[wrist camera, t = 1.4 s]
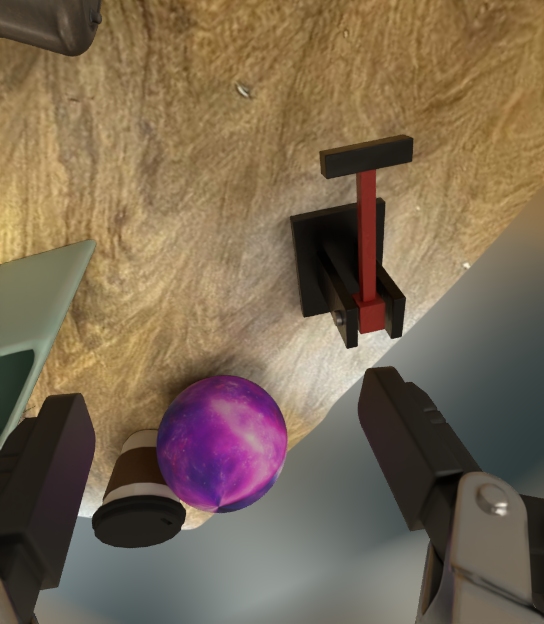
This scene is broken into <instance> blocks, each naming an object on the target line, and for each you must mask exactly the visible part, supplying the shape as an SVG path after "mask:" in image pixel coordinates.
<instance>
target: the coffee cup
mask: <svg viewBox="0 0 544 624" xmlns="http://www.w3.org/2000/svg"><path fill="white" fill-rule="evenodd" d="M157 435H158V431H157V430H142V431H138V432H136V433H134V434H132V435H131V436H130V437H129V438H128V439H127V441H126V442H125V443H124V445H123V448H122V450H121V453H120V456H119V458H118V459H117V460H116V463H115V466H114V469H113V472H112V474H111V477H110V480H109V483H108V486H107V488H106V491H105V494H104V497H103V504H102V506H100V507H99V508H98V510H97V511H96V512H95V513H94V514H93V517H92V528H93V529H94V531H95V536H96V537H97V538H98V539H99V540H100V541H101V542H103V543H105V544H108V545H111V546H114V547H123V548H137V547H138V548H139V547H148V546H152V545H156V544H160V543H163V542H165V541H167V540H169V539H171V538H173V537H174V536H175V535H176V534H177V533H178V532H179V531H180V530H181V526H182V525H183V524H184V522H185V517H186V510H185V508H184V507H183V505H182V504H181V503H180V498H178V497H177V496H176V495H175V494H174V493H173V492H172V490H171V489H170V488H169V486H168V485H167V483H166V482H165V480H164V478H163V476H162V473H161V471H160V468H159V464H158V459H157V450H156V445H157Z"/></svg>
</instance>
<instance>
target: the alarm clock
mask: <svg viewBox="0 0 544 624" xmlns="http://www.w3.org/2000/svg"><path fill="white" fill-rule="evenodd" d="M100 8H101V0H0V38H6V39H10V40H14V41H18V42H21V43H25V44H28V45H32V46H35V47H39V48H42V49H45V50H49V51H52V52H56V53H59V54H63V55H67V56H78V55H81V54H82V53H84V52H85V51H87V49H88V48H89V47H90V46H91V44H92V42H93V40H94V37H95V34H96V31H97V27H98V24H100V23H101V22H102V16H101V14H100Z"/></svg>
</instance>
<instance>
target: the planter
mask: <svg viewBox="0 0 544 624" xmlns="http://www.w3.org/2000/svg"><path fill="white" fill-rule="evenodd" d="M95 247H96V242H95V241H94V240H85V241H81V242H78V243H75V244H72V245H68V246H65V247H61V248H58V249H54V250H51V251H47V252H43V253H40V254H36V255H32V256H29V257H25V258H21V259H18V260H14V261H11V262H7V263H4V264H1V265H0V450H1V448H2V446H3V444H4V442H5V440H6V438H7V436H8V435H9V434H10V433H11V432H12V431H13V430H14V429H15V428H16V427H17V425H18V423H19V420H20V418H21V416H22V414H23V411H24V409H25V407H26V404H27V402H28V400H29V398H30V395H31V393H32V391H33V389H34V386H35V384H36V382H37V380H38V377H39V375H40V373H41V371H42V368H43V366H44V364H45V362H46V359H47V357H48V355H49V353H50V350H51V348H52V346H53V343H54V341H55V339H56V336H57V334H58V332H59V330H60V327H61V325H62V323H63V320H64V318H65V316H66V314H67V311H68V309H69V307H70V304H71V302H72V300H73V297H74V295H75V293H76V291H77V288H78V286H79V284H80V281H81V279H82V277H83V274H84V272H85V270H86V268H87V265H88V263H89V261H90V258H91V256H92V254H93V252H94V249H95Z"/></svg>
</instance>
